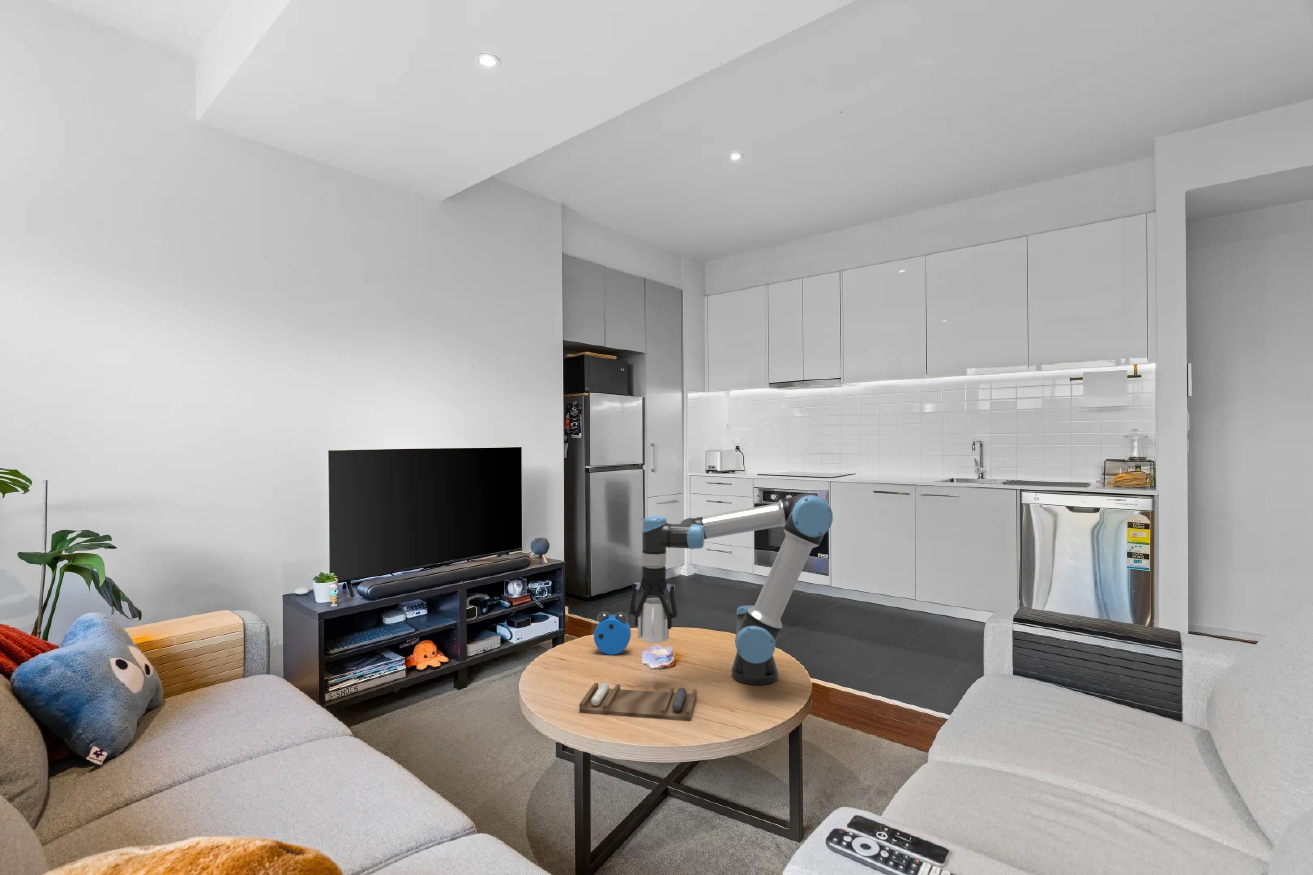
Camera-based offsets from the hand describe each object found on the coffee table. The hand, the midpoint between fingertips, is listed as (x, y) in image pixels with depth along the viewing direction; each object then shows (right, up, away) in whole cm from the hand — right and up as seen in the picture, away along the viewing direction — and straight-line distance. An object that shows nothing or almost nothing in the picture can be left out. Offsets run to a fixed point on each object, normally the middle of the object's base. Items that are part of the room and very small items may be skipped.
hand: (653, 637), depth 197 cm
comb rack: (-4, -16, -13) cm, 21 cm away
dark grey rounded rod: (+8, -15, -15) cm, 23 cm away
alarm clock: (-15, -16, +32) cm, 39 cm away
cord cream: (-16, -15, -11) cm, 24 cm away
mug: (0, -1, 0) cm, 1 cm away
